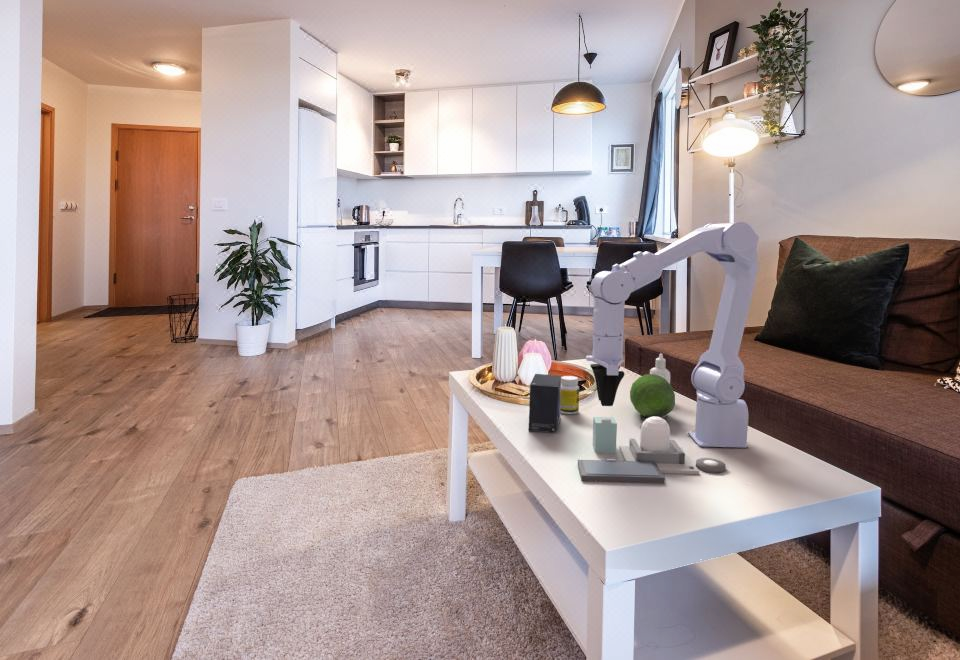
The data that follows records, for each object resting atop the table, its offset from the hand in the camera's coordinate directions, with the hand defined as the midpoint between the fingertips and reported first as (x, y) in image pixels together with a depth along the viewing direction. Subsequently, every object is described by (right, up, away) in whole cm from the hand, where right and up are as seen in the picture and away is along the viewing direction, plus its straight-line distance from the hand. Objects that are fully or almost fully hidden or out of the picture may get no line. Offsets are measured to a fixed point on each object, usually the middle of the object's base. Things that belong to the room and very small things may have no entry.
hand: (605, 402), depth 111 cm
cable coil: (+17, -11, -8) cm, 22 cm away
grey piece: (+9, -10, -5) cm, 14 cm away
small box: (-10, -7, +16) cm, 20 cm away
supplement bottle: (-3, -6, +26) cm, 26 cm away
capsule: (+9, -10, -3) cm, 14 cm away
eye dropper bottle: (+21, -4, +36) cm, 42 cm away
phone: (0, -11, -10) cm, 15 cm away
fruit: (+16, -6, +23) cm, 29 cm away
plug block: (0, -9, +2) cm, 10 cm away
